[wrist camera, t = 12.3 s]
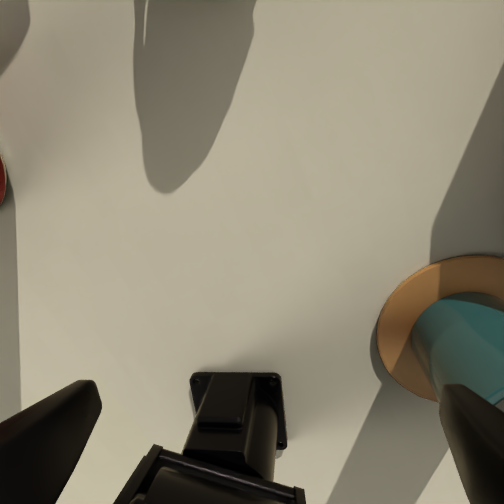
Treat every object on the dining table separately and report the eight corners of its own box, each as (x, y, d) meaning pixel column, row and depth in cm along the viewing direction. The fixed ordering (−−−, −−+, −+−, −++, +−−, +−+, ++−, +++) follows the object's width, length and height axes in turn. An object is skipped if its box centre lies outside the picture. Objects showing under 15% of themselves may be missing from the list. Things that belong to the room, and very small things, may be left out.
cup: (514, 379, 20) (621, 499, 13) (408, 378, 21) (458, 489, 14) (529, 289, 18) (662, 375, 11) (412, 293, 19) (471, 374, 12)
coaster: (543, 401, 20) (548, 406, 20) (375, 398, 22) (377, 403, 22) (574, 249, 17) (580, 252, 17) (376, 260, 19) (378, 262, 19)
